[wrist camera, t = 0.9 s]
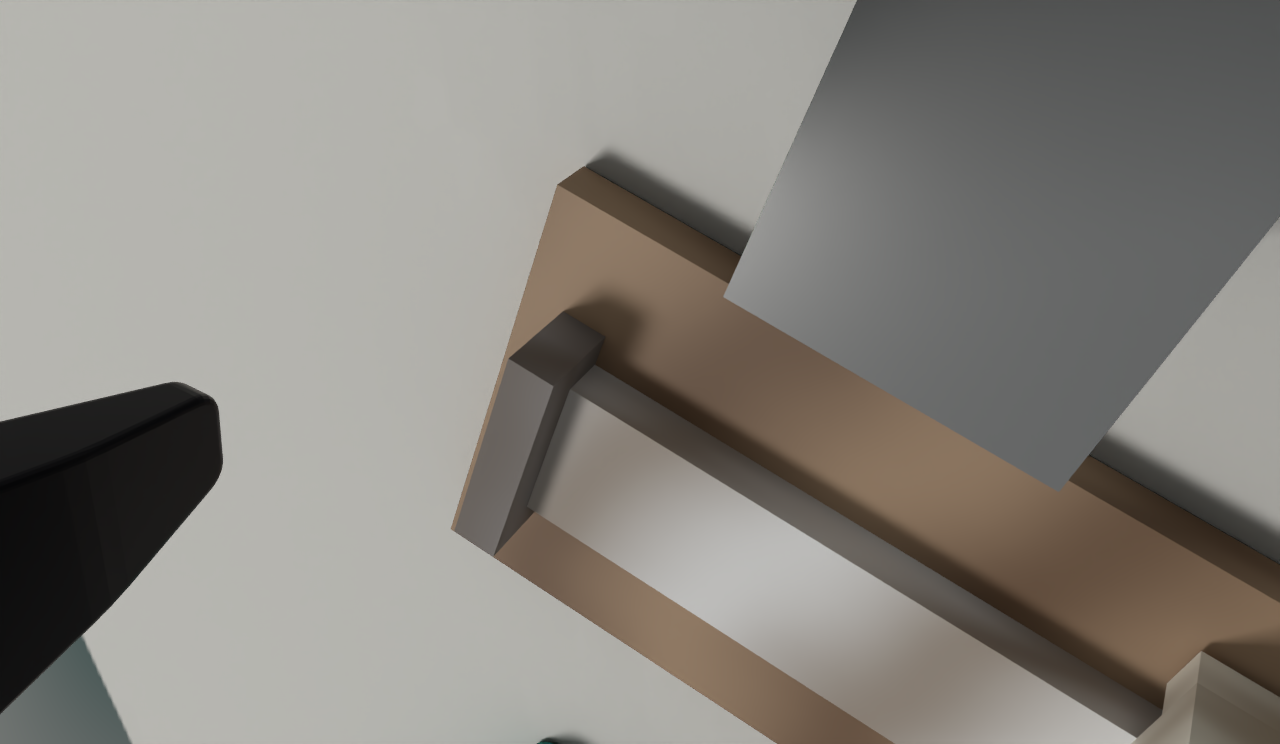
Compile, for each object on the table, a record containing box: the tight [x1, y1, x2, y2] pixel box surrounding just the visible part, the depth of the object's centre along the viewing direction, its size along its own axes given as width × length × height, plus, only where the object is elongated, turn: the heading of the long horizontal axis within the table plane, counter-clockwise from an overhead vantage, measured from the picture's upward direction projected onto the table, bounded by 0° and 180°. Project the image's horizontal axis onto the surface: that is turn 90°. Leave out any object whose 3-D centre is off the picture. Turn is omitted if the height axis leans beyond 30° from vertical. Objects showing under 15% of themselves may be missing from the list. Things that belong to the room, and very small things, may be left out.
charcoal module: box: [723, 0, 1280, 492], centre depth 14 cm, size 4×7×7 cm, turn 162°
